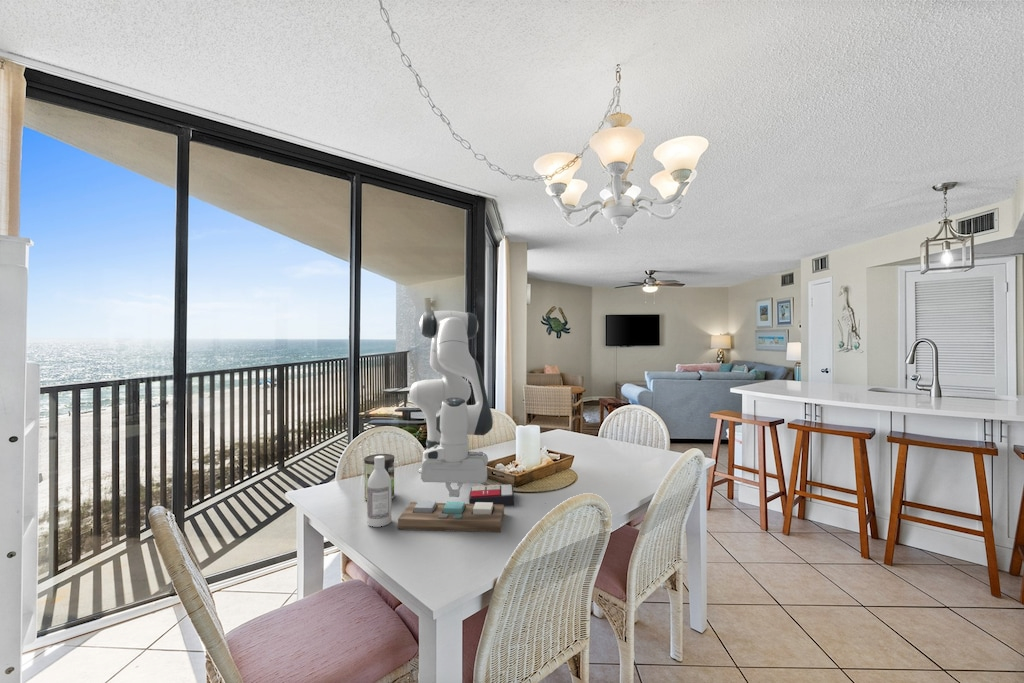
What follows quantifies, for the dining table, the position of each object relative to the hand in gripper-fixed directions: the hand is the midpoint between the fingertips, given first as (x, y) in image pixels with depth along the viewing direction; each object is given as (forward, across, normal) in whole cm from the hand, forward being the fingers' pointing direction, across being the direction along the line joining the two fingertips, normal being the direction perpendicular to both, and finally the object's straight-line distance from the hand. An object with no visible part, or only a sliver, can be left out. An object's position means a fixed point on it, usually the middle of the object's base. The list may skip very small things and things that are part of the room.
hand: (454, 496), depth 133 cm
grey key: (+5, +9, 0) cm, 10 cm away
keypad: (+7, 0, +1) cm, 7 cm away
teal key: (+5, 0, 0) cm, 5 cm away
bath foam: (+7, +22, +4) cm, 24 cm away
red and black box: (+8, -10, -17) cm, 21 cm away
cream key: (+5, -9, 0) cm, 10 cm away
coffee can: (+7, +30, -17) cm, 35 cm away
